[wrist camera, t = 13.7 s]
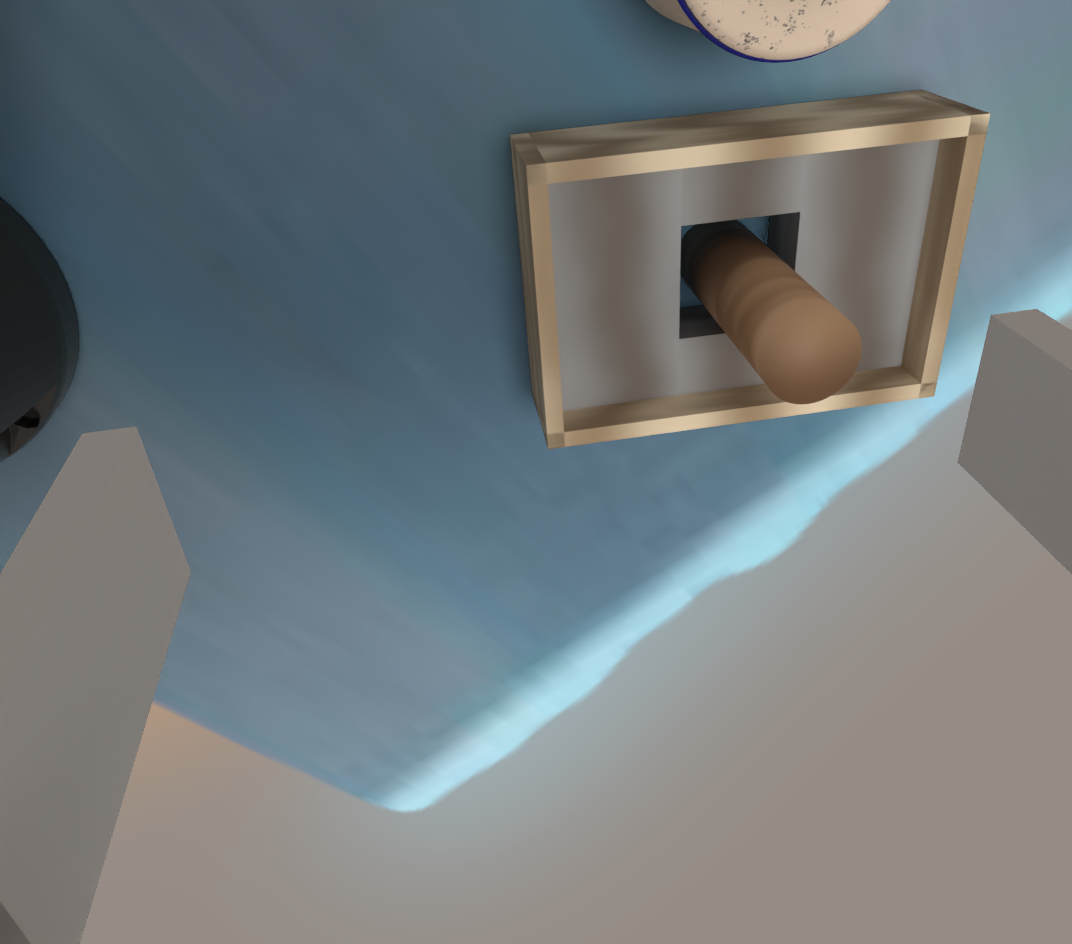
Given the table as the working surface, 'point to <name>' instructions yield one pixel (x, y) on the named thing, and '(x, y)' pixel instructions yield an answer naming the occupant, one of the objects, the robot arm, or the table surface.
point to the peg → (770, 312)
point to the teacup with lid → (773, 24)
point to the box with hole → (794, 235)
